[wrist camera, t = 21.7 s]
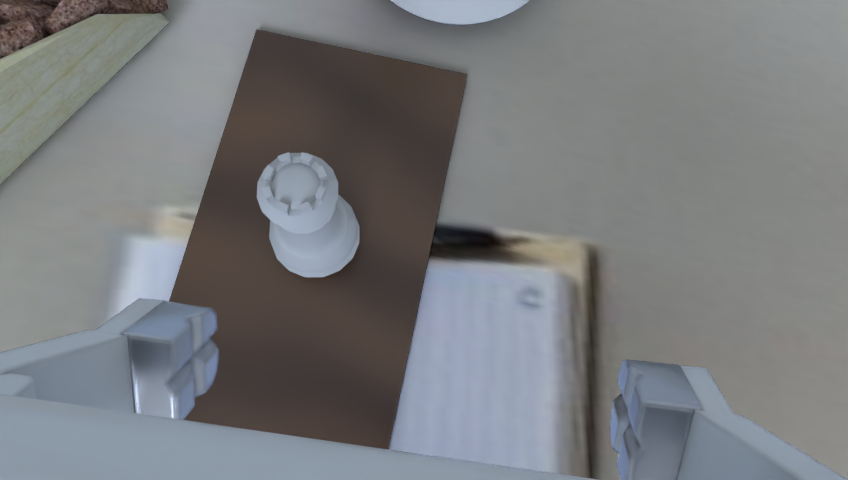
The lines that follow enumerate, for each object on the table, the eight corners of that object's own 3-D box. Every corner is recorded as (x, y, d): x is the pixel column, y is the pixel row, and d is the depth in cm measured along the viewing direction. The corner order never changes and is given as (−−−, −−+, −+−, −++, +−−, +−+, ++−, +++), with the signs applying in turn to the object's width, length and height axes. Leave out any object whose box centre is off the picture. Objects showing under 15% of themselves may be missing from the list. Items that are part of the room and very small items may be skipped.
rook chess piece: (351, 188, 33) (341, 119, 25) (368, 270, 32) (362, 225, 24) (265, 204, 32) (228, 139, 25) (279, 288, 31) (244, 247, 23)
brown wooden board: (380, 487, 29) (380, 488, 29) (129, 434, 29) (125, 434, 29) (466, 77, 35) (467, 74, 35) (257, 33, 35) (256, 28, 35)
